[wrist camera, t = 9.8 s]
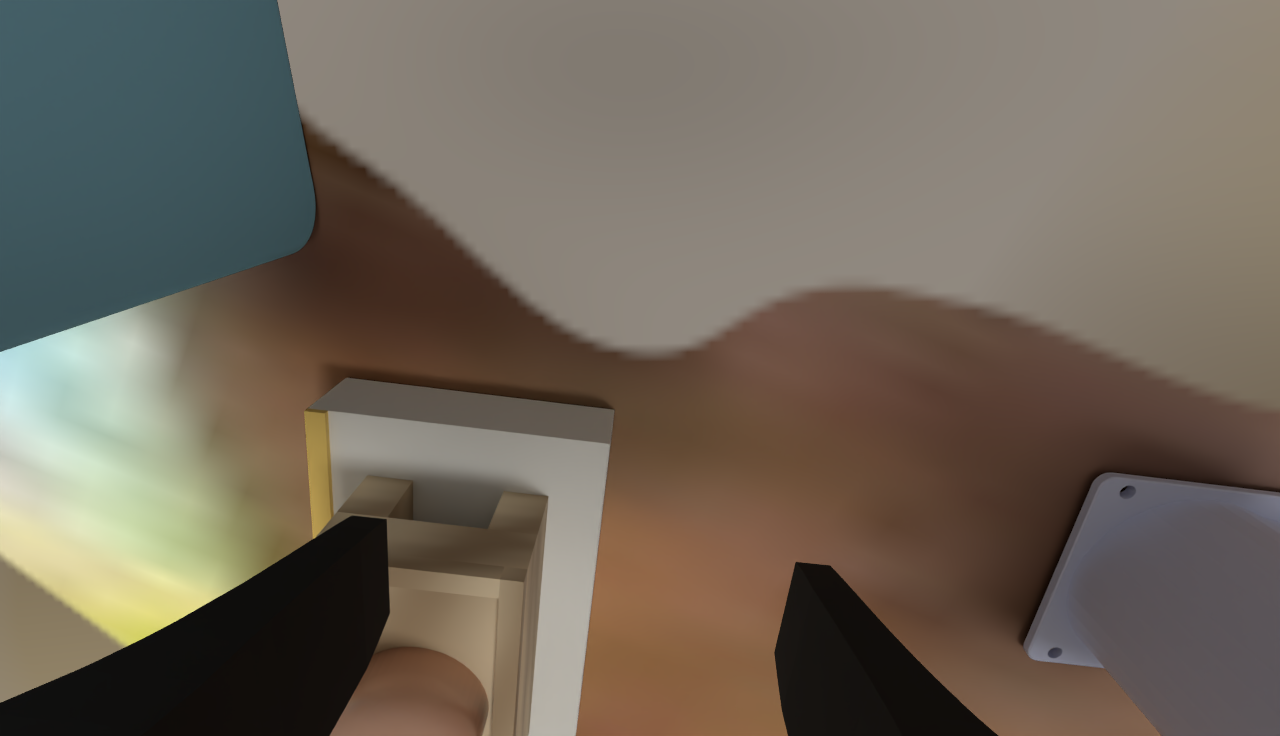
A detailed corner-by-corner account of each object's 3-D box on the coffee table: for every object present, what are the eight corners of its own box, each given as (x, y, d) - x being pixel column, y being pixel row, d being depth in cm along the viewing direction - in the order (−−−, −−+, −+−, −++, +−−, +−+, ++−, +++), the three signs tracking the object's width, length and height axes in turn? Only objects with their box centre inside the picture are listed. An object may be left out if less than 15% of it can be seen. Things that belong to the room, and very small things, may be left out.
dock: (614, 409, 21) (609, 447, 19) (578, 716, 26) (570, 779, 24) (346, 377, 21) (304, 411, 19) (359, 693, 26) (328, 753, 23)
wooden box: (548, 496, 20) (523, 582, 16) (529, 731, 23) (505, 847, 19) (367, 475, 19) (299, 557, 16) (375, 715, 23) (321, 828, 19)
